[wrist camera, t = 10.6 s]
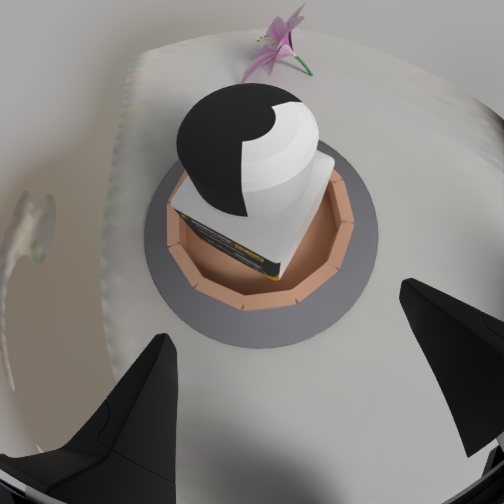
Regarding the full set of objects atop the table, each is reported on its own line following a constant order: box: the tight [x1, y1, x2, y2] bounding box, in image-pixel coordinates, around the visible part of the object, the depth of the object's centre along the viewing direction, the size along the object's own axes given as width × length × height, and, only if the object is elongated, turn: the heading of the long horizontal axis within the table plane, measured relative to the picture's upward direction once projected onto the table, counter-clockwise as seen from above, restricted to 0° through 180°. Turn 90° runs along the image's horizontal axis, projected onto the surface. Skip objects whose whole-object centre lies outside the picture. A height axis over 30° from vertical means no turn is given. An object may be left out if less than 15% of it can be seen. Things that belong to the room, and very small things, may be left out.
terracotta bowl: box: [167, 169, 354, 311], centre depth 21 cm, size 14×14×2 cm
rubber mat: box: [145, 140, 378, 349], centre depth 22 cm, size 20×20×1 cm
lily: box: [241, 4, 313, 84], centre depth 24 cm, size 12×12×10 cm
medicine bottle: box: [171, 83, 335, 281], centre depth 16 cm, size 7×7×12 cm
